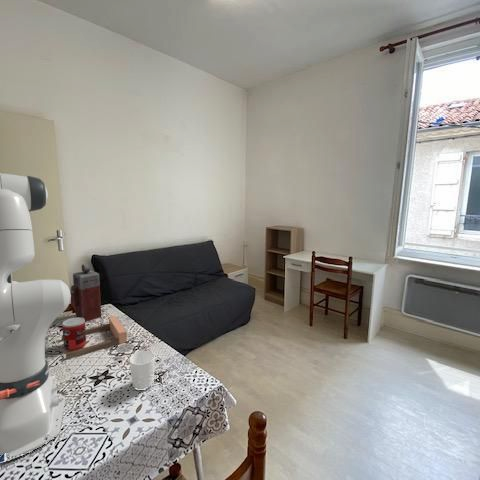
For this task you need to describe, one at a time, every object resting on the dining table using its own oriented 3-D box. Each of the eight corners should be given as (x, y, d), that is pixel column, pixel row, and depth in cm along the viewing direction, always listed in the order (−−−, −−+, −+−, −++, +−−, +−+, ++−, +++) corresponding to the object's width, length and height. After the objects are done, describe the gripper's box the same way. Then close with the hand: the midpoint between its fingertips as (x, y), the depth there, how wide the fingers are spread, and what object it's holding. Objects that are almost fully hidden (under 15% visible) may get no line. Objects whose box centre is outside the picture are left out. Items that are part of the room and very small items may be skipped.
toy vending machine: (70, 318, 135) (66, 264, 131) (94, 311, 144) (90, 260, 139) (78, 324, 130) (73, 268, 125) (101, 316, 138) (98, 264, 134)
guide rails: (119, 344, 114) (119, 339, 114) (66, 359, 103) (66, 354, 102) (109, 327, 128) (109, 323, 127) (61, 339, 116) (61, 335, 116)
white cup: (129, 394, 86) (128, 366, 84) (132, 378, 94) (131, 352, 92) (155, 390, 88) (154, 362, 86) (155, 375, 96) (155, 349, 94)
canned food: (65, 343, 114) (63, 318, 112) (87, 339, 117) (85, 315, 115) (62, 353, 107) (60, 327, 105) (85, 348, 110) (83, 323, 108)
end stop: (126, 342, 116) (126, 331, 115) (119, 344, 114) (118, 333, 113) (116, 325, 130) (115, 315, 129) (109, 327, 128) (108, 317, 127)
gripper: (18, 329, 91) (55, 347, 98) (19, 308, 107) (51, 325, 114) (2, 346, 89) (41, 362, 96) (5, 322, 105) (39, 337, 112)
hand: (46, 342), depth 105 cm, fingers closed
